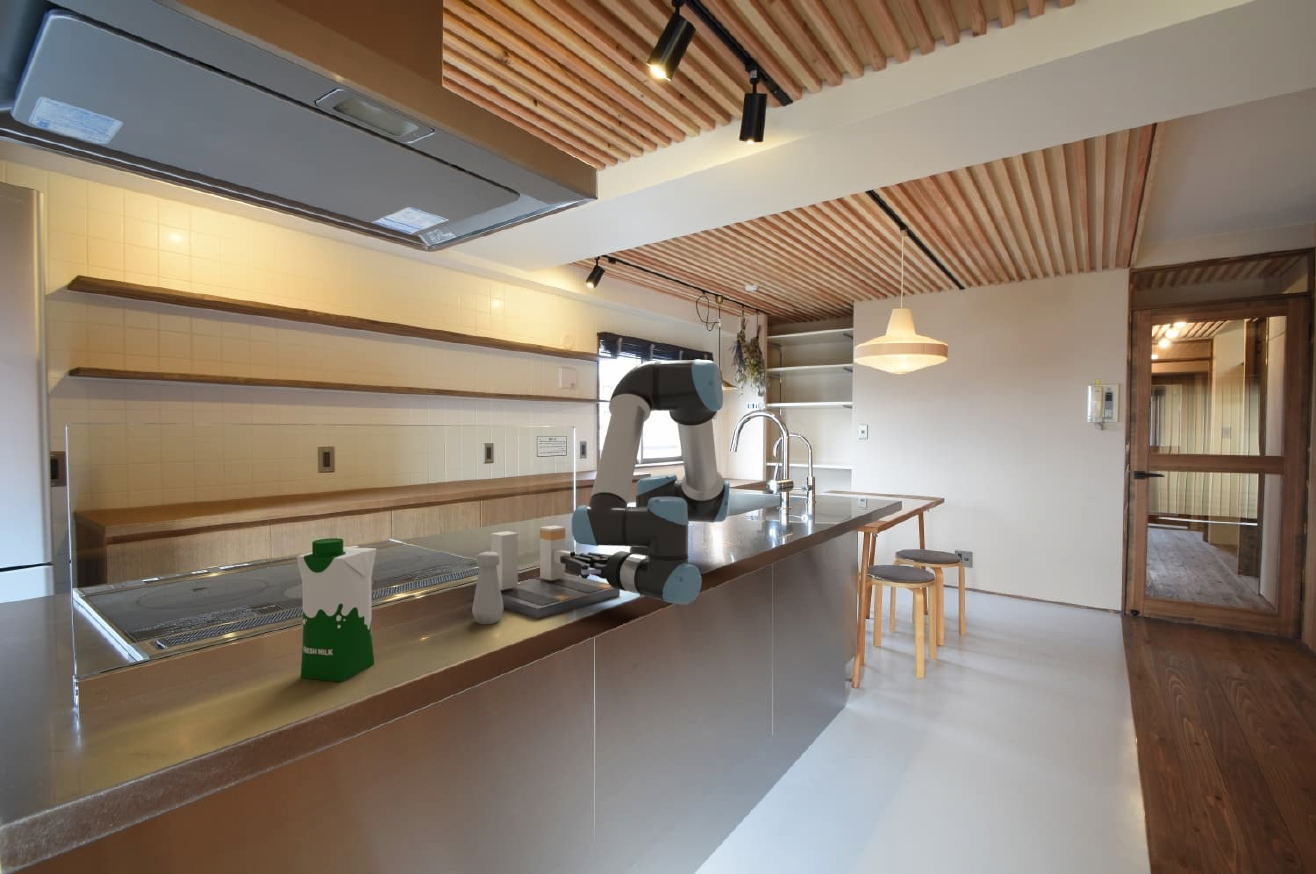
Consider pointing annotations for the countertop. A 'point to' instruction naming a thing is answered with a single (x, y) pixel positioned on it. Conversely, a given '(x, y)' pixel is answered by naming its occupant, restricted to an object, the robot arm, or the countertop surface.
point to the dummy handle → (506, 558)
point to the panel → (555, 595)
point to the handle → (551, 552)
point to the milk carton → (336, 610)
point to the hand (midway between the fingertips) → (556, 555)
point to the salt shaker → (487, 590)
